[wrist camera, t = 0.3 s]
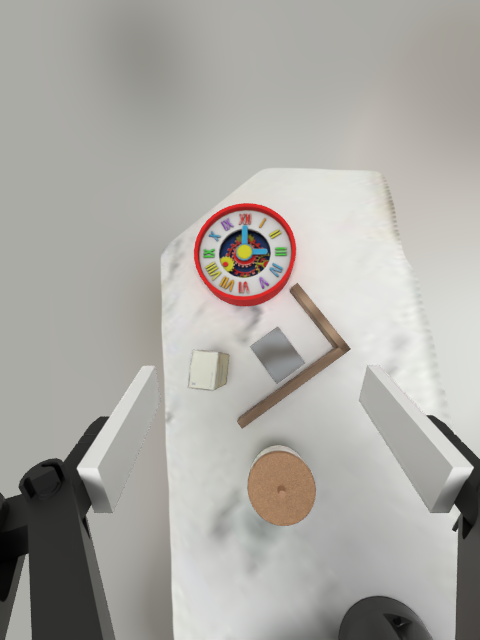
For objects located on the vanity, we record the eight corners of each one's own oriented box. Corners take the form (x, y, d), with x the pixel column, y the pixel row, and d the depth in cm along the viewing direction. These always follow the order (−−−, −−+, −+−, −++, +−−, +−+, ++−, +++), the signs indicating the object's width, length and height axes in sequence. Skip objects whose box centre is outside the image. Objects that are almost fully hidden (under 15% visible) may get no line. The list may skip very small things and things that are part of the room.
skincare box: (226, 384, 49) (214, 393, 38) (204, 382, 50) (186, 389, 38) (229, 353, 50) (219, 352, 38) (208, 351, 51) (192, 349, 39)
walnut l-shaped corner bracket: (345, 349, 48) (350, 349, 45) (243, 424, 48) (241, 428, 45) (295, 287, 51) (297, 283, 48) (198, 357, 51) (194, 357, 48)
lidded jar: (240, 453, 47) (234, 476, 38) (288, 427, 47) (295, 444, 38) (266, 508, 45) (268, 547, 36) (317, 481, 45) (332, 513, 36)
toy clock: (191, 300, 47) (196, 205, 50) (199, 306, 53) (203, 220, 56) (297, 299, 45) (295, 201, 48) (293, 306, 51) (291, 217, 54)
